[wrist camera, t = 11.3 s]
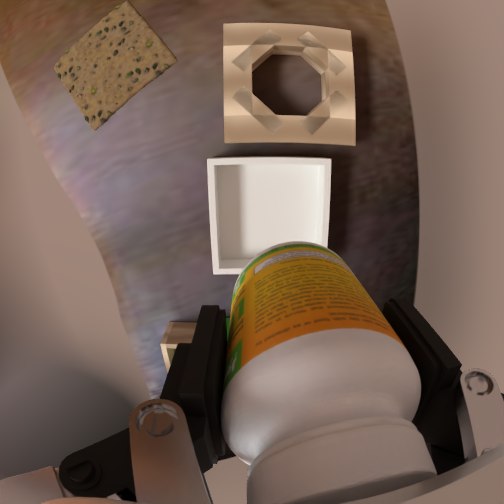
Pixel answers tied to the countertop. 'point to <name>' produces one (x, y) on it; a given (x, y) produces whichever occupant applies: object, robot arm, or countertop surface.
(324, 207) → the tray
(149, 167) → the countertop surface
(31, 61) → the countertop surface
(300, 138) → the plate
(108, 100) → the speckled tile
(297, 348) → the supplement bottle
